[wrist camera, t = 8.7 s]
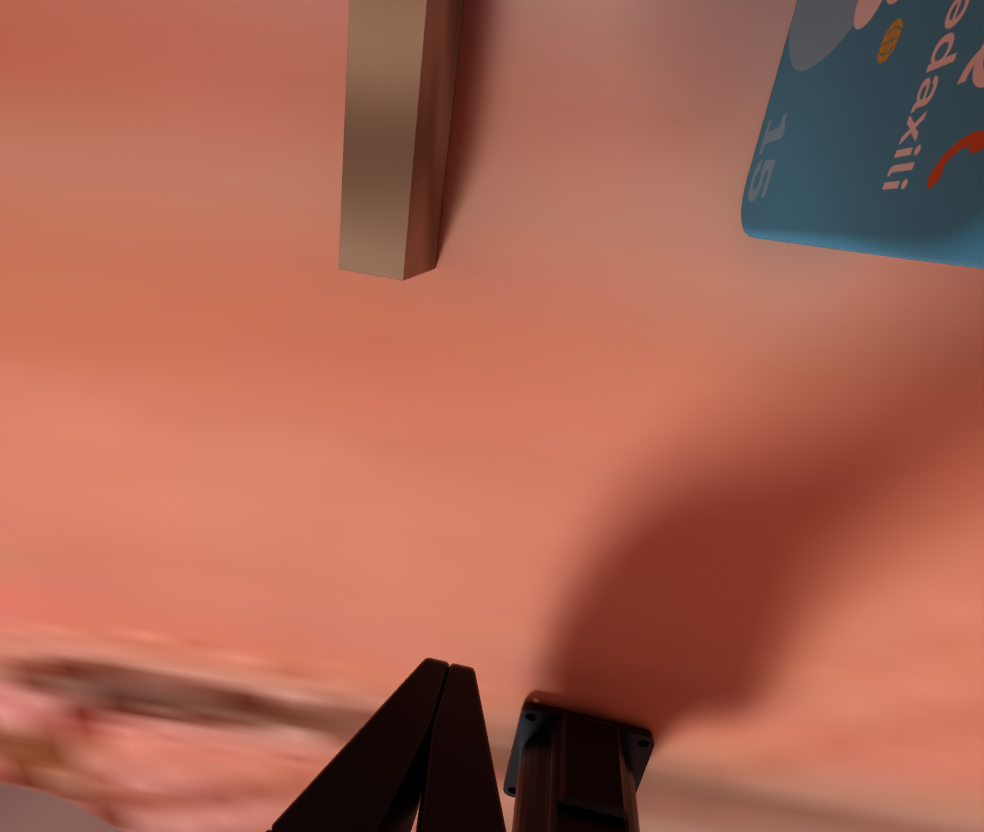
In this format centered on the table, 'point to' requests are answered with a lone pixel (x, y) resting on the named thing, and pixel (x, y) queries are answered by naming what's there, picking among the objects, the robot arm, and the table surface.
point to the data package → (876, 132)
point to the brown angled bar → (397, 133)
